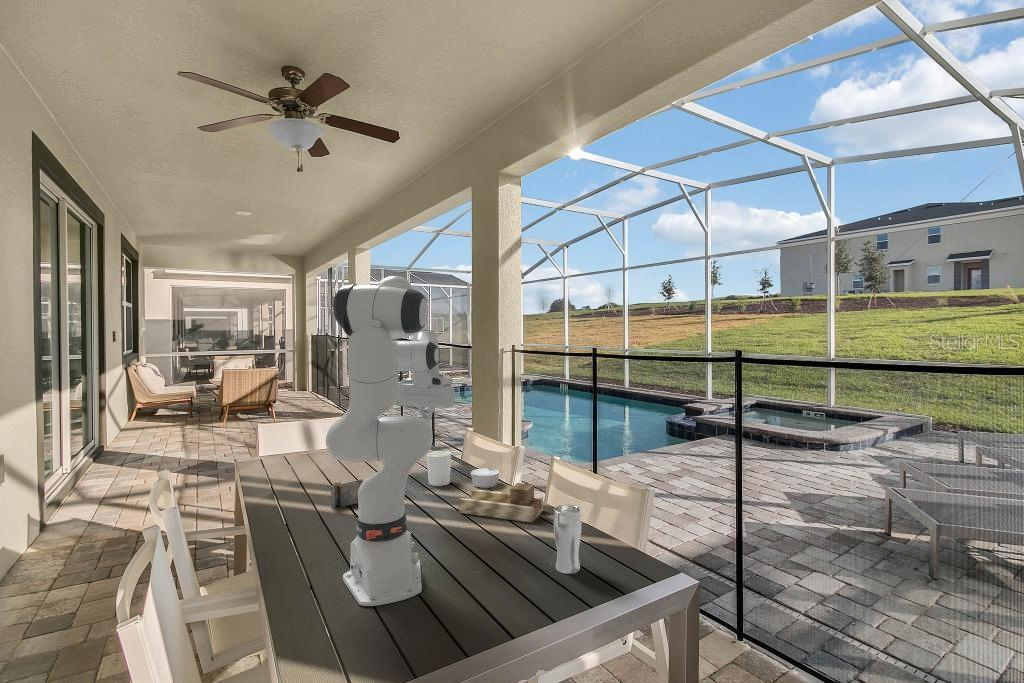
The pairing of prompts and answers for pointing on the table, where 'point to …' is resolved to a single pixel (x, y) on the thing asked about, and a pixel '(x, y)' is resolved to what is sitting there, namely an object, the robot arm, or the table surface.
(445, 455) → the candle holder
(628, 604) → the table surface
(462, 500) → the pine chute
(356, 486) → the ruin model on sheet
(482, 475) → the ramekin
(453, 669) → the table surface
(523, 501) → the walnut block
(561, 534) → the beer glass
